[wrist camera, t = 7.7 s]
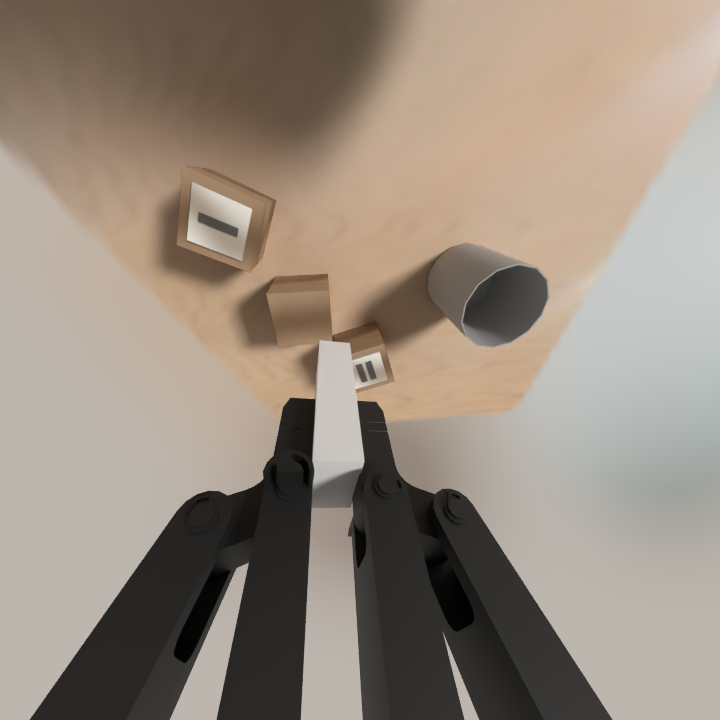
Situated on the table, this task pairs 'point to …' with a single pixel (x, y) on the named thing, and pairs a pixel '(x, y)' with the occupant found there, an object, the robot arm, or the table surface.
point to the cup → (487, 293)
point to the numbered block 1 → (223, 218)
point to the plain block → (300, 309)
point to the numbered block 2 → (367, 356)
